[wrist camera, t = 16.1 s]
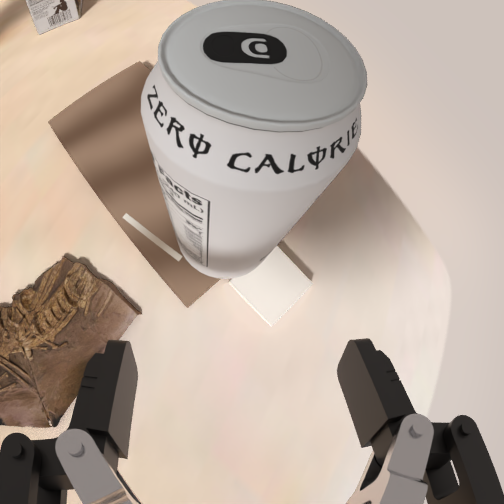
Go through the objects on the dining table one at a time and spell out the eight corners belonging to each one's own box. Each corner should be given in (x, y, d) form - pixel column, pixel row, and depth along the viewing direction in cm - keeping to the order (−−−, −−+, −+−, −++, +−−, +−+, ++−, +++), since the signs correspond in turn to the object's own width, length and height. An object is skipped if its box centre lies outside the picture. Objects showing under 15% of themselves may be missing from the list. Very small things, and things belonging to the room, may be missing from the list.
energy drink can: (273, 278, 20) (423, 165, 5) (179, 283, 19) (107, 159, 5) (265, 192, 21) (350, 7, 7) (177, 194, 20) (151, -9, 6)
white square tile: (227, 283, 21) (229, 281, 20) (268, 245, 22) (272, 240, 21) (268, 326, 21) (272, 325, 19) (307, 285, 22) (313, 283, 21)
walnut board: (52, 128, 21) (47, 121, 20) (140, 68, 24) (139, 60, 23) (187, 307, 20) (186, 307, 19) (293, 214, 22) (297, 209, 21)
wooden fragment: (111, 235, 20) (106, 231, 19) (174, 381, 19) (172, 384, 18) (-79, 344, 14) (-85, 344, 13) (-40, 449, 13) (-46, 451, 12)
